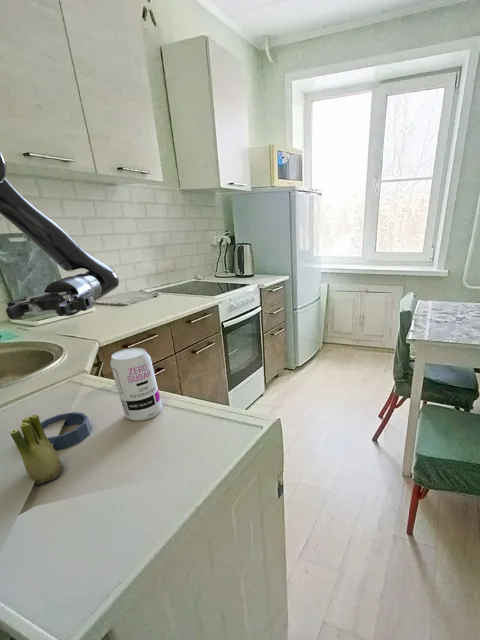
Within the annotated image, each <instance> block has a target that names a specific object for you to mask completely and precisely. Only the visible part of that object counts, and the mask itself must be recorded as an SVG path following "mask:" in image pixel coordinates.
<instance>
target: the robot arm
mask: <svg viewBox="0 0 480 640" xmlns="http://www.w3.org/2000/svg"><path fill="white" fill-rule="evenodd" d="M6 175H7V163H6V160H5V158H4V156H3V154H2V153H1V152H0V215H1V216H3V217H4V218H5V219H7V220H8V222H10V223H11V224H12V225H13V226H15V227H16V228H17V229H18V230H19V231H20V232H21V233H23V234H24V235H25V236H26V238H28V239H29V240H30V241H31V242H32V243H33V244H35V245H36V246H37V248H39V249H40V250H41V251H42V252H43V253H44V254H46V256H48V257H49V258H50V259H51V261H53V262H54V263H55V264H57V266H59V267H60V268H61V269H62V270H64V271H66V272H73V271H76V270H80V269H84V270H86V272H84V273H77V274H74V275H71V276H70V275H69V276H66V277H63V278H60V279H57V280H54V281H51V282H50V283H48V284H47V285H46V287H45V289H44V291H43V292H42V293H40V294H39V295H33V296H26V295H25V296H23V297H20V298H16V299H14V300H11V301H8V302H6V305H7V307H6V309H5V312H6V315H7V317H8V318H9V320H11V321H13V320H18V319H20V318H22V317H25V316H27V315H31V314H32V315H34V316H38V315H43V314H47V313H48V314H50V313H51V314H52V313H55V314H57V315H58V316H59V317H72V316H75V315H77V314H78V313H80V312H81V311H83V312H86V311H88V310H90V309H91V308H92V307H93V306H94V305H95V302H97V301H98V300H100V299H101V298H103V297H104V296H106V295H107V294H110V293H111V292H112V291H114V290H116V289H117V288H118V286H119V285H120V278H119V276H118V274H117V272H116V271H115V270H114V269H113V268H112V267H110V266H109V265H108V264H106V263H105V262H103V261H102V260H100V259H98V258H96V257H95V256H94V255H92V254H90V253H89V252H88V251H87V250H85V249H83V247H81V246H80V245H79V243H77V242H76V241H75V240H74V238H72V236H70V235H69V234H68V233H67V232H66V231H65V229H63V228H62V227H61V226H60V225H59V224H57V222H55V221H53V220H52V219H51V218H49V217H48V216H47V215H45V214H44V213H43V212H42V211H40V210H39V209H38V208H36V207H35V206H34V205H33V204H32V203H30V202H29V201H28V200H27V199H26V198H25V197H24V196H22V194H20V192H18V191H17V189H15V188H14V186H12V184H11V183H10V182H9V180H7V178H6ZM38 309H40V310H38Z"/></svg>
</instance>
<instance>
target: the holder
mask: <svg viewBox="0 0 480 640" xmlns="http://www.w3.org/2000/svg"><path fill="white" fill-rule="evenodd" d="M60 421H64V422H63V424H62V426H61V428H65V427H70V426H77V427H76V428H74V429H73V430H70V431H67V432H65V433H63V434H60V435H54V436H49V437H47V438H48V440H49V441H50V443H51V444H52V445H53V447H54V449H55V451H56V452H57V451H61V450H66V449H69V448H71V447H74V446H75V445H77V444H78V445H79V444H80V443H82V442H83V441H84V440H86V438H88V437H89V436H90V435H91V432H92V429H93V428H92V425H91V422H90V419H89V416H87V414H85V413H84V412H75V411H71V412H65V413H59V414H57V415H54V416H51V417H49V418H46V419H44V420H42V421H40V423H41V426H42V428H43V430H44V429H46V428H47V427H49V426H51V425H53V424H55V423H58V422H60Z"/></svg>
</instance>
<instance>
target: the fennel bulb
mask: <svg viewBox="0 0 480 640" xmlns="http://www.w3.org/2000/svg"><path fill="white" fill-rule="evenodd" d="M21 421H22V422H21V423H20V425H19V428H20V429H17V428H16V429H11V430H10V431H9V434H10V436H11V438H12V440H13V442H14V444H15V446H16V448H17V450H18V452H19V455H20V456H21V458H22V463H23V465H24V468H25V471H26V472H25V473H26V474H27V476H28V477H29V479H30V480H31V481H34V484H35V485H42V484H45V483H47V482H50V481H53V480H55V479H57V478H58V477H60V475H61V474H62V472H63V470H64V465H63V463H62V461H61V459H60V457H59V455H58V453H57V450H56V451H55V449H54V447H53V444H51V443H50V441H49V440H48V437H47V436H46V433H45V431H44V429H43V428H42V426H41V420H40V416H39V414H37V413H36V414H31V415H29V416H28V417H25V418H22V419H21Z"/></svg>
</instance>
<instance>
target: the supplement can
mask: <svg viewBox="0 0 480 640" xmlns="http://www.w3.org/2000/svg"><path fill="white" fill-rule="evenodd" d="M109 364H110V369H111V372H112V375H113V379H114V382H115V385H116V388H117V392H118V395H119V398H120V402H121V405H122V409H123V412H124V415H125V418H127V419H128V420H131V421H134V422H143V421H148V420H150V419H152V418H154V417H157V416H158V414H160V412H161V411H162V409H163V403H162V400H161V395H160V392H159V388H158V387H159V386H158V383H157V379H156V375H155V370H154V366H153V362H152V358H151V355H150V354H149V353H148V352H147V350H146V349H145V348H142V347H131V348H130V347H129V348H125V349H121V350H119V351H115V352H114V353H113V354H112V355H111V359H110V361H109Z"/></svg>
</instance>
